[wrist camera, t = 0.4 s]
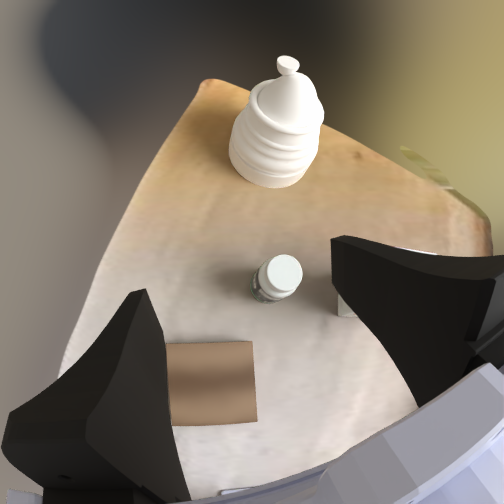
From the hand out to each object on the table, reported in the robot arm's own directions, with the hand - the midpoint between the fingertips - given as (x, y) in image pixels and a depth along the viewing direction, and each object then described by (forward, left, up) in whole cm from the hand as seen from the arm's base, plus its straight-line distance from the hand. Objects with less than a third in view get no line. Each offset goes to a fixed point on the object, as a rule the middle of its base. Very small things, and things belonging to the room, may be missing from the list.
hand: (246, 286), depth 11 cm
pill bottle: (+5, -8, -28) cm, 29 cm away
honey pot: (+26, -10, -28) cm, 39 cm away
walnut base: (-7, 0, -28) cm, 29 cm away
